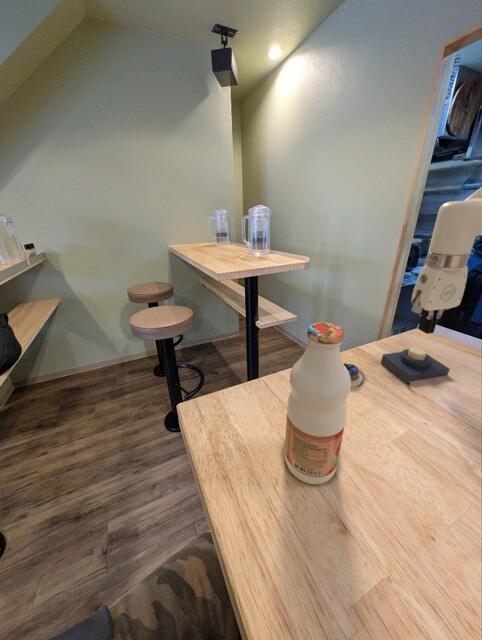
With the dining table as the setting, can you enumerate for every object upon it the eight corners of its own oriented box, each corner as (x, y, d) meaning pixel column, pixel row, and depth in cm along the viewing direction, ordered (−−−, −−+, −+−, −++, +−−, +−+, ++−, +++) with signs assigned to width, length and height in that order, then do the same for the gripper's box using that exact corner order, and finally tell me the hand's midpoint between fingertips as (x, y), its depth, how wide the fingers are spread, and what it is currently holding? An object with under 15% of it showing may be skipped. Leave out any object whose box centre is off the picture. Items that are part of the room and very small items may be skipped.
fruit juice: (277, 445, 51) (282, 319, 39) (320, 435, 52) (337, 312, 40) (296, 492, 42) (310, 351, 30) (346, 479, 44) (378, 340, 32)
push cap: (416, 352, 71) (418, 345, 70) (428, 360, 67) (430, 353, 66) (403, 354, 70) (405, 347, 69) (415, 362, 67) (417, 355, 66)
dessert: (347, 364, 73) (358, 356, 68) (360, 385, 70) (372, 379, 65) (324, 372, 71) (333, 365, 66) (336, 395, 68) (347, 389, 63)
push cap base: (416, 358, 76) (420, 343, 74) (446, 378, 67) (452, 363, 65) (380, 363, 74) (383, 349, 72) (406, 385, 65) (411, 369, 63)
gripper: (431, 266, 53) (411, 342, 61) (490, 260, 55) (463, 333, 63) (404, 260, 60) (389, 328, 68) (458, 254, 62) (437, 321, 70)
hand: (425, 330), depth 65 cm, fingers closed
